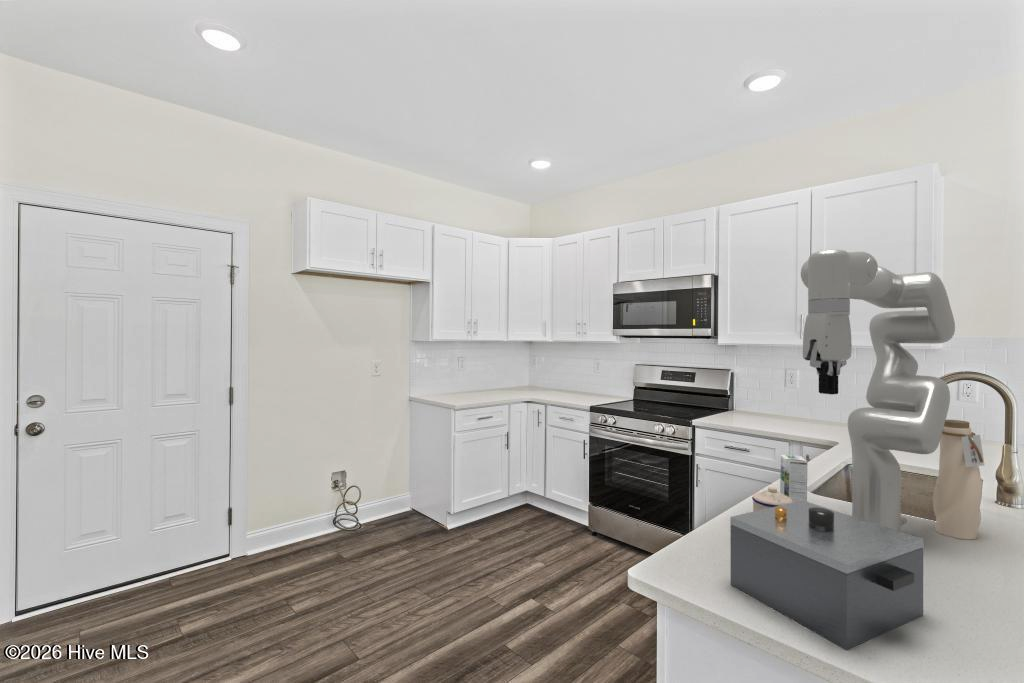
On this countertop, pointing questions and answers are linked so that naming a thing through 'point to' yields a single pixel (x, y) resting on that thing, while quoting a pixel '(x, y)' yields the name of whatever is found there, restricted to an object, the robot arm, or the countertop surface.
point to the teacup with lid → (769, 499)
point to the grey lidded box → (829, 589)
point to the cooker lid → (827, 535)
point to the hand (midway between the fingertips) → (828, 393)
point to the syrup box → (794, 477)
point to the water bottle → (958, 482)
